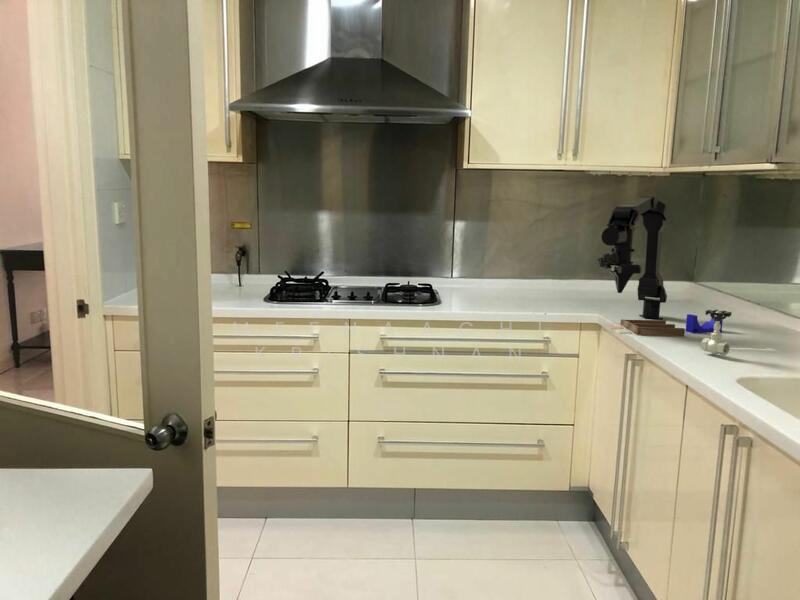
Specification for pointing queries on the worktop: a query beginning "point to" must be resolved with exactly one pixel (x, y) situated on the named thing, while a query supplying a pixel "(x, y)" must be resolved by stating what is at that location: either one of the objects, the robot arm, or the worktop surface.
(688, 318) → the cable clip
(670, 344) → the worktop surface
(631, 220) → the robot arm
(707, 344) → the valve
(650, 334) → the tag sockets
